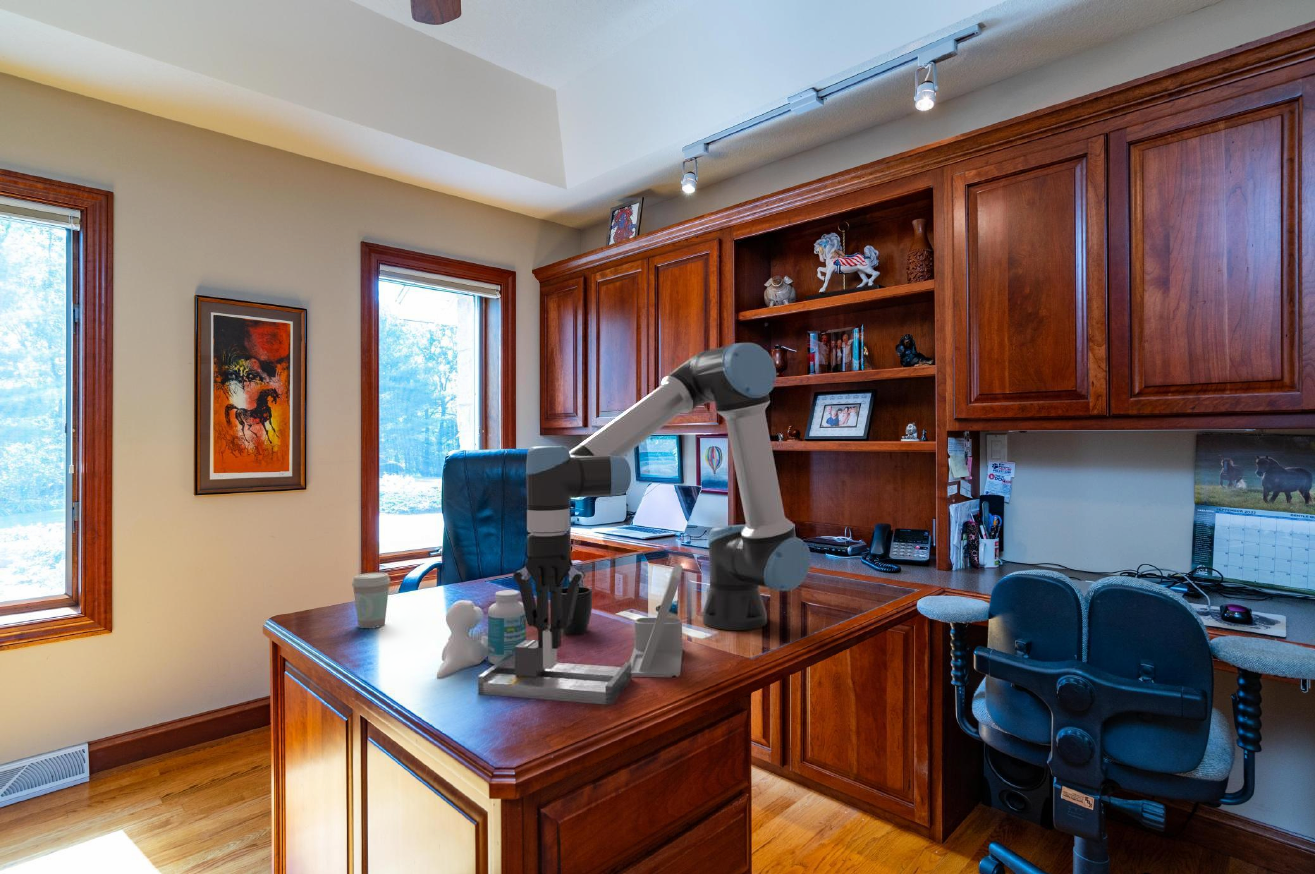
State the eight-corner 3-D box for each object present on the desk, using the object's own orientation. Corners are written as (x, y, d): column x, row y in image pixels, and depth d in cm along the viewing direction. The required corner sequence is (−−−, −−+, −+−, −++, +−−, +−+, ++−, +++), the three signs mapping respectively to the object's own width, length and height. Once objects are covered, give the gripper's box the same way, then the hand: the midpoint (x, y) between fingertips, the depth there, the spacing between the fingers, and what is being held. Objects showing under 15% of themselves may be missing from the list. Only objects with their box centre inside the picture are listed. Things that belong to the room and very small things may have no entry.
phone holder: (635, 647, 136) (634, 561, 136) (683, 647, 135) (682, 561, 135) (625, 676, 118) (624, 578, 119) (680, 677, 118) (679, 578, 118)
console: (631, 678, 117) (631, 662, 117) (611, 704, 105) (611, 686, 105) (509, 669, 123) (509, 653, 123) (478, 693, 111) (478, 676, 111)
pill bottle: (507, 669, 123) (506, 598, 123) (480, 662, 127) (479, 593, 127) (534, 657, 129) (533, 590, 130) (507, 652, 133) (507, 586, 134)
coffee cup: (347, 625, 155) (346, 575, 155) (383, 618, 161) (383, 570, 161) (358, 632, 149) (358, 580, 149) (396, 625, 155) (395, 575, 155)
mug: (600, 622, 154) (600, 583, 155) (587, 637, 143) (586, 594, 143) (567, 621, 156) (567, 582, 156) (551, 636, 144) (550, 593, 144)
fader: (545, 673, 117) (545, 640, 117) (536, 681, 113) (535, 647, 113) (524, 672, 118) (524, 639, 118) (515, 680, 114) (514, 645, 114)
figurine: (505, 649, 135) (504, 590, 135) (458, 680, 118) (458, 611, 118) (469, 647, 137) (468, 588, 138) (417, 676, 120) (417, 609, 120)
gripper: (590, 530, 117) (591, 661, 116) (523, 529, 120) (525, 656, 119) (575, 536, 109) (577, 676, 109) (505, 534, 112) (506, 670, 112)
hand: (550, 665), depth 114 cm, fingers closed
